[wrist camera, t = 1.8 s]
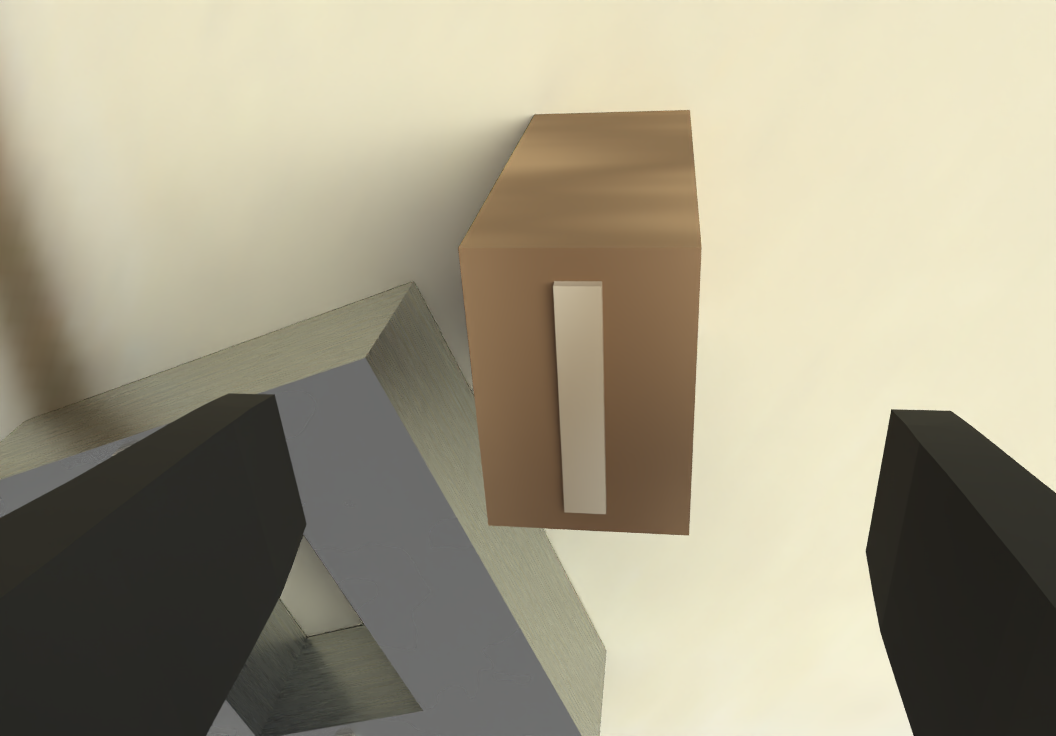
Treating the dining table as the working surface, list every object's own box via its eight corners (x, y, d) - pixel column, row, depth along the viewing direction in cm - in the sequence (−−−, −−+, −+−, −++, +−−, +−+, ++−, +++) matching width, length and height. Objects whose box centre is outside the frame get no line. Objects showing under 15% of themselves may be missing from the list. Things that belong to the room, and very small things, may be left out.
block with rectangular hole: (413, 281, 19) (361, 362, 16) (606, 650, 24) (596, 770, 21) (25, 421, 23) (-81, 510, 19) (261, 715, 27) (207, 823, 24)
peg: (689, 110, 16) (701, 251, 10) (682, 321, 18) (689, 542, 12) (534, 114, 17) (455, 252, 10) (546, 319, 19) (486, 532, 13)
